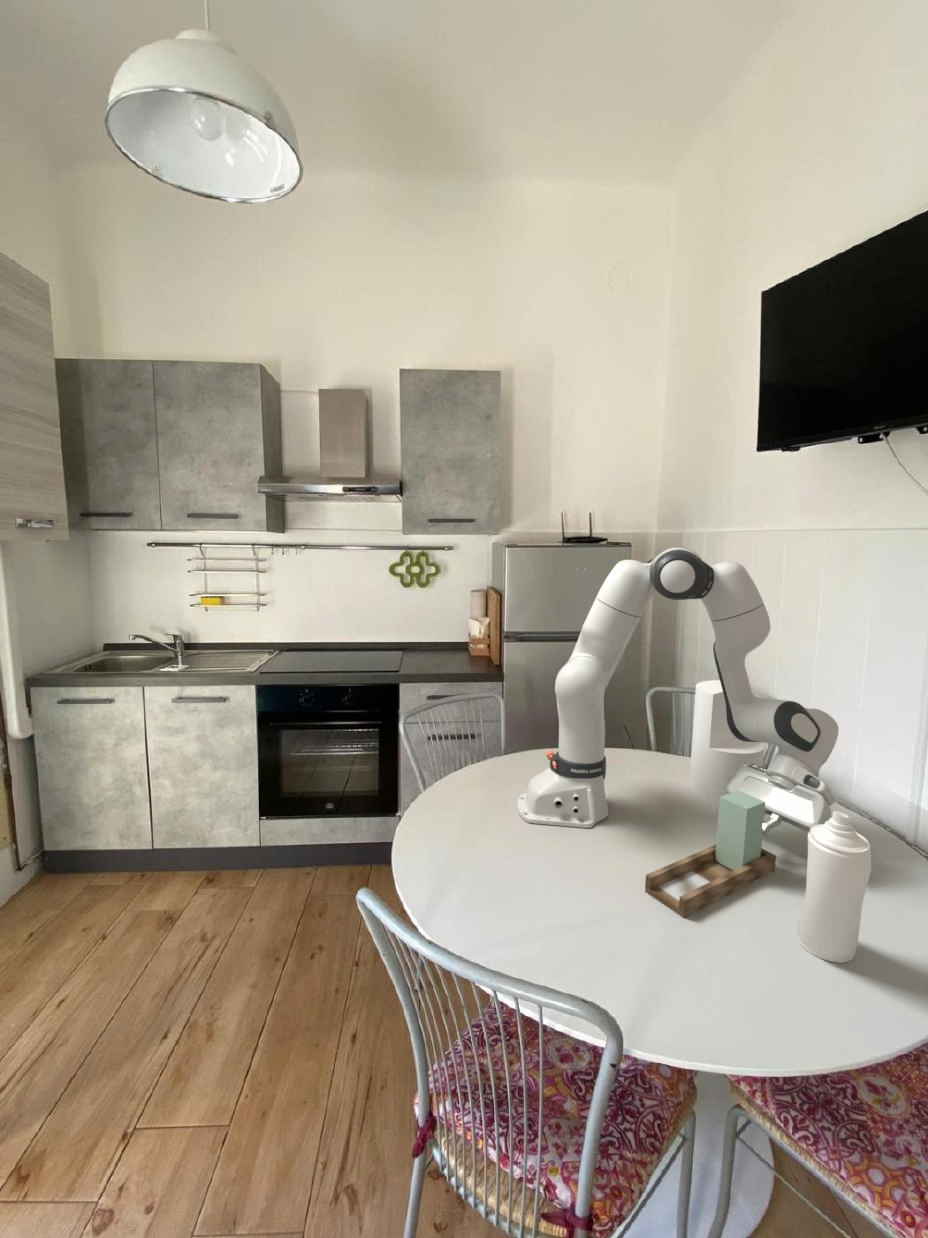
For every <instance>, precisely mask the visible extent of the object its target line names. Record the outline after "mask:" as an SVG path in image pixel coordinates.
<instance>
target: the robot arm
mask: <svg viewBox="0 0 928 1238" xmlns="http://www.w3.org/2000/svg"><path fill="white" fill-rule="evenodd" d="M656 595H660V596H663V597H664V598H666V599H669V600H673V601H674V600H675V601H685V600H686V601H687V600H701V601H702V604H703V605H704V607H705V610H706V612H707V614H708V617H709V620H710V622H711V624H712V628H713V631H714V643H713V646H712V647H713V649H712V652H713V657H714V663H715V667H716V670H717V674H718V677H719V679H718V680H720V682H721V686H722V690H723V694H724V698H725V702H726V715H727V723H728V726H729V729H730V731H731V732H732V734H733V735H734V736H735V737H736V738H738V739H739V740H741V741H744V742H762V743H763V744H770V745H774V746H776V747H777V748H778V751H777V752H776V754H775V755H774V756H773V759H772V760H771V762H770V764H769V766H768V767H767V768H766V767H760V766H757V765H755V764H752V763H750V764H745V765H742V766H741V768H740V769H739V771H738V773H737V774H736V775H735V776H734V778H733V779H732V780H731V781H730V783H729V784H728V786H727V792H728V794H729V793H732V792H734V791H737V790H739V791H741V792H743V793H746V794H748V795H751V796H753V797H755V798H758V799H760V800H762V801H765V811H764V816H765V815H768V816H770V819H771V820H769V821H767V822H766V823H764V822H763V834H762V835H764V836H766V837H767V836H768V835H769V834H770V832H771V830H774V829H775V828H777V827H779V826H781V824H782V822H785V823H786V824H789V825H791V826H793V827H795V828H798V829H801V830H803V831H805V832H807V833H809V832H810V828H811V827H813V826H815V825H819V824H825V822H826V821H828V820H829V819H830V818H831V816H832V808H831V807H832V806H833V805H834V803H835V802H836V800H835V796H834V795H833V793H832V791H831V789H830V788H829V786H828V785H827V784H826V783H825V782H824V781H823V780H821V779H820V778H818V777H819V775H820V774H819V773H820V770H821V767H822V766H823V765H824V764H826V763H827V761H828V759H829V758H830V756H831V754H832V752H833V750H834V748H835V745H836V743H837V740H838V737H839V724H838V722H837V721H836V720H835V718H833V717H832V716H831V715H830V714H829V713H827V712H825V711H823V710H821V709H818V708H807V707H804V706H803V705H802V704H801V703H799V702H798V701H797V702H796V701H793V700H785V699H763V698H762V699H761V698H759V697H757V696H756V695H755V694H754V693H753V691H752V687H751V684H750V680H749V676H748V671H747V669H746V667H747V666H746V663H745V662H746V658H747V655H749V653H751V652H752V651H754V650H755V649H757V648H758V647H760V646H761V645H762V644H763V643H764V642H765V641H766V639H767V637H768V636H769V634H770V631H771V621H770V616H769V613H768V610H767V608H766V606H765V603H764V601H763V598H762V595H761V593H760V592H759V590H758V587H757V585H756V584H755V582H754V580H753V578H752V577H751V575H750V574H749V573H748V571H747V569H746V568H745V566H744V565H742V564H740V563H739V562H736V561H722V562H719V563H715V564H708V563H706V561H704V560H703V559H702V557H701V556H700V555H699V554H698V553H697V552H696V551H694V550H693V549H692V548H689V547H687V546H680V545H678V546H677V545H675V546H671V547H668V548H666V549H664V550H662V551H661V552H659V553H658V554H657V555H656V556H654V557H653V558H651V559H650V560H648V561H647V562H641V561H639V560H637V559H636V560H635V559H623V560H620V561H618V562H617V563H616V564H615V565H614V567H613V568H612V569H611V571H610V572H609V574H608V575H607V577H606V578H605V579H604V581H603V583H602V585H601V587H600V589H599V590H598V593H597V595H596V596H595V599H594V601H593V603H592V606H591V607H590V609H589V612H588V614H587V615H586V618H585V620H584V622H583V624H582V627H581V631H580V633H579V635H578V638H577V641H576V643H575V646H574V648H573V650H572V653H571V655H570V657H569V659H568V660H567V661H566V663H565V664H564V665H563V666H562V667H561V669H559V671H558V672H557V675H556V678H555V682H554V684H555V685H554V692H555V697H556V706H557V707H556V708H557V715H558V726H559V727H558V751H557V752H555V753H554V751H553V750H550V749H549V750H547V751H546V753H545V756H546V759H547V760H548V761H549V767H547V768H545V769H544V770H543V771H541V772H540V773H538V774H537V775H534V776H533V777H532V778H531V779H530V780H529V782H528V785H527V789H526V792H523V793H521V794H520V795H519V796H518V798H517V801H516V802H517V803H516V808H517V812H518V814H519V816H520V817H521V818H522V819H523V820H524V821H526V822H527V823H530V824H536V825H537V824H540V825H550V826H562V827H572V828H574V827H575V828H582V829H590V828H592V827H593V826H595V825H596V823H598V822H600V821H602V820H604V819H606V817H608V815H609V813H610V811H609V806H608V801H607V797H606V790H605V789H606V788H605V779H606V774H607V757H606V756H605V746H606V745H605V744H606V723H605V722H606V721H605V707H604V706H605V705H604V701H605V700H604V698H605V697H604V696H605V692H606V688H607V686H608V685H609V683H610V681H611V679H612V677H613V675H614V673H615V671H616V669H617V667H618V665H619V663H620V660H621V658H622V656H623V654H624V652H625V650H626V648H627V646H628V644H629V642H630V640H631V638H632V636H633V634H634V633H635V630H636V628H637V626H638V624H639V622H640V620H641V617H642V616H643V613H644V611H645V609H646V607H647V606H648V603H649V602H650V601H651V599H653V598H654V596H656ZM748 766H749V767H748Z"/></svg>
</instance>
